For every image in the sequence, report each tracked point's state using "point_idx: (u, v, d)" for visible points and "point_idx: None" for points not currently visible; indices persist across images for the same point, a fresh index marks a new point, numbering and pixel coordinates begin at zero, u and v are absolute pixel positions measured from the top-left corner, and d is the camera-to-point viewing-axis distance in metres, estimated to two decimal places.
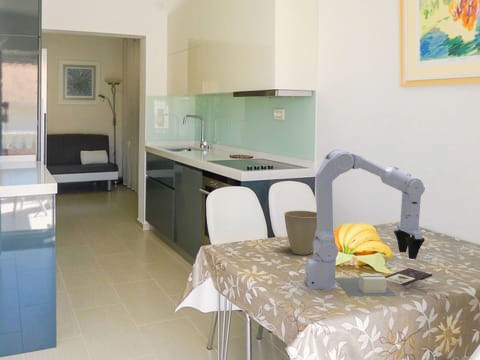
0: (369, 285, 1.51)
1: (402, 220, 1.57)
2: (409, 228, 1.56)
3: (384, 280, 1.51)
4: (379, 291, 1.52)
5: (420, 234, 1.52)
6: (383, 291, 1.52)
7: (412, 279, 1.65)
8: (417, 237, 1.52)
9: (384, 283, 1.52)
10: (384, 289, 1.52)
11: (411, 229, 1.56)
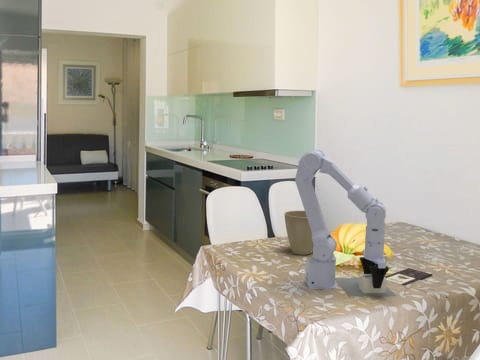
0: (369, 285, 1.51)
1: (366, 248, 1.52)
2: (373, 256, 1.50)
3: (384, 280, 1.51)
4: (379, 291, 1.52)
5: (383, 263, 1.46)
6: (383, 291, 1.52)
7: (412, 279, 1.65)
8: (380, 266, 1.46)
9: (384, 283, 1.52)
10: (384, 289, 1.52)
11: (375, 257, 1.50)
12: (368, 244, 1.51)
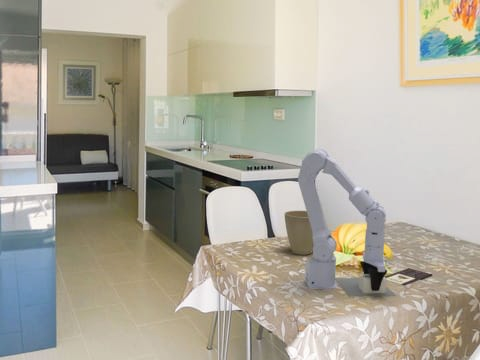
0: (369, 285, 1.51)
1: (366, 251, 1.52)
2: (373, 260, 1.50)
3: (384, 280, 1.51)
4: (379, 291, 1.52)
5: (383, 267, 1.46)
6: (383, 291, 1.52)
7: (412, 279, 1.65)
8: (380, 270, 1.46)
9: (384, 283, 1.52)
10: (384, 289, 1.52)
11: (375, 261, 1.50)
12: (368, 247, 1.51)
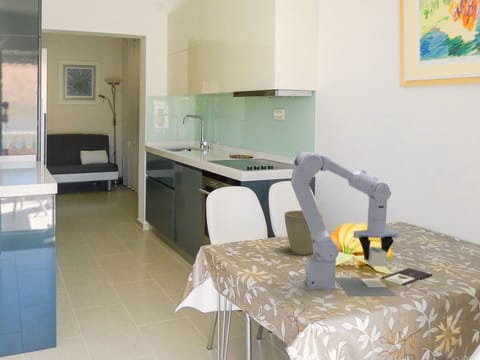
0: None
1: None
2: (367, 229, 1.60)
3: (370, 253, 1.57)
4: (368, 262, 1.59)
5: (354, 233, 1.58)
6: (370, 264, 1.57)
7: (412, 279, 1.65)
8: (353, 235, 1.59)
9: (370, 256, 1.57)
10: (370, 262, 1.57)
11: (367, 231, 1.59)
12: None
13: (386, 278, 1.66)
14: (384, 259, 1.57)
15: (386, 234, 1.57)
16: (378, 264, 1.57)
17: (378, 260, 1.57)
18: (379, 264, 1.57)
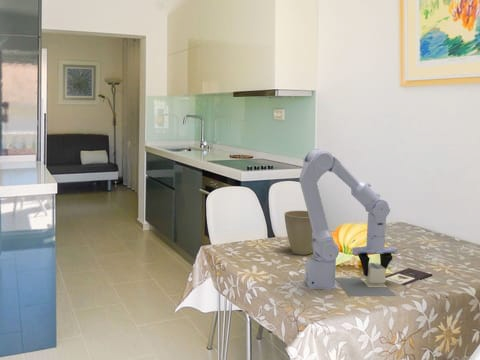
0: None
1: None
2: (366, 246, 1.61)
3: (370, 270, 1.58)
4: (367, 279, 1.59)
5: (353, 250, 1.59)
6: (369, 280, 1.58)
7: (412, 279, 1.65)
8: None
9: (369, 273, 1.58)
10: (369, 278, 1.58)
11: (366, 247, 1.60)
12: None
13: (386, 278, 1.66)
14: (383, 275, 1.57)
15: (385, 251, 1.58)
16: (377, 281, 1.58)
17: (377, 277, 1.57)
18: (378, 281, 1.58)
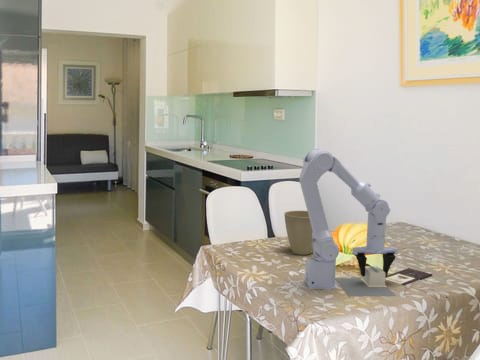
0: None
1: None
2: (366, 246, 1.61)
3: (369, 273, 1.58)
4: (367, 282, 1.60)
5: (353, 249, 1.59)
6: (368, 284, 1.58)
7: (412, 279, 1.65)
8: (353, 252, 1.60)
9: (369, 276, 1.58)
10: (369, 282, 1.58)
11: (366, 247, 1.60)
12: None
13: (386, 278, 1.66)
14: (382, 279, 1.58)
15: (385, 251, 1.58)
16: (377, 284, 1.58)
17: (377, 280, 1.58)
18: (378, 284, 1.58)
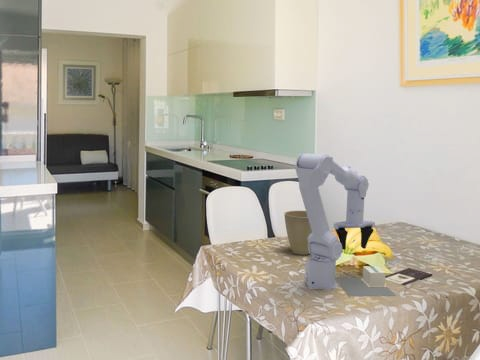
0: (364, 274, 1.63)
1: None
2: (346, 220, 1.68)
3: (369, 273, 1.58)
4: (367, 282, 1.60)
5: (335, 224, 1.66)
6: (368, 284, 1.58)
7: (412, 279, 1.65)
8: (334, 226, 1.67)
9: (369, 276, 1.58)
10: (369, 282, 1.58)
11: (346, 222, 1.68)
12: None
13: (386, 278, 1.66)
14: (382, 279, 1.58)
15: (364, 224, 1.66)
16: (377, 284, 1.58)
17: (377, 280, 1.58)
18: (378, 284, 1.58)
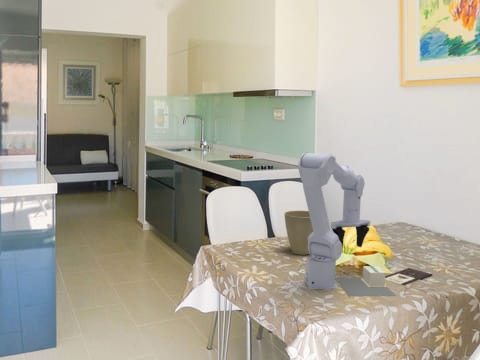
0: (364, 274, 1.63)
1: None
2: (342, 220, 1.70)
3: (369, 273, 1.58)
4: (367, 282, 1.60)
5: (333, 224, 1.67)
6: (368, 284, 1.58)
7: (412, 279, 1.65)
8: (331, 226, 1.68)
9: (369, 276, 1.58)
10: (369, 282, 1.58)
11: (342, 221, 1.69)
12: None
13: (386, 278, 1.66)
14: (382, 279, 1.58)
15: (361, 223, 1.68)
16: (377, 284, 1.58)
17: (377, 280, 1.58)
18: (378, 284, 1.58)
